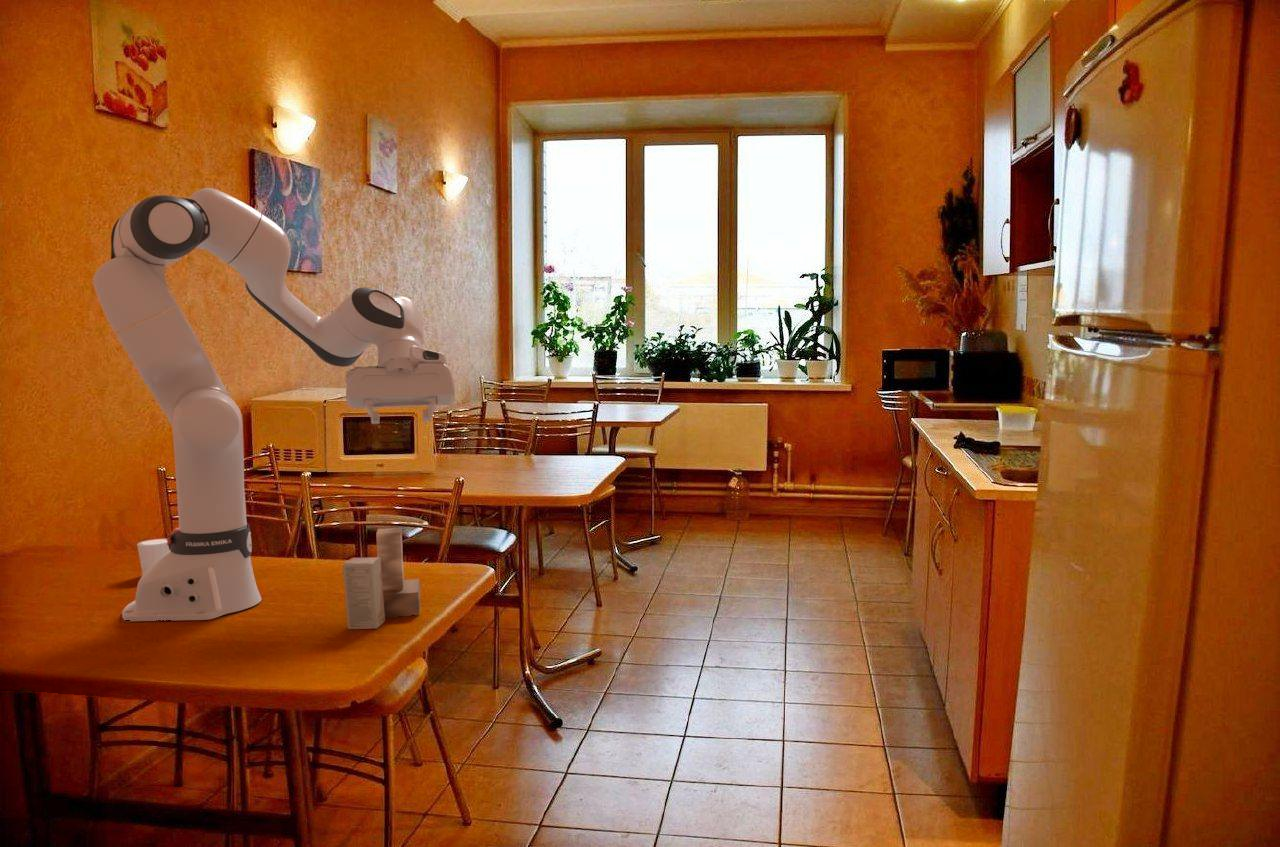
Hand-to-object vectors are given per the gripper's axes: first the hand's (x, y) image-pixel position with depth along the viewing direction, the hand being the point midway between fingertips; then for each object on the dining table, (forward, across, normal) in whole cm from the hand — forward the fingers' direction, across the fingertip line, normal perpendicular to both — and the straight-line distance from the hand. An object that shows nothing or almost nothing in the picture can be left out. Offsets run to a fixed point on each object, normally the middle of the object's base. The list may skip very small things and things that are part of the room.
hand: (401, 420), depth 187 cm
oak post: (+31, -2, +8) cm, 32 cm away
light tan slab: (+34, -2, +11) cm, 35 cm away
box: (+40, -6, +5) cm, 40 cm away
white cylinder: (+8, -50, +37) cm, 63 cm away
